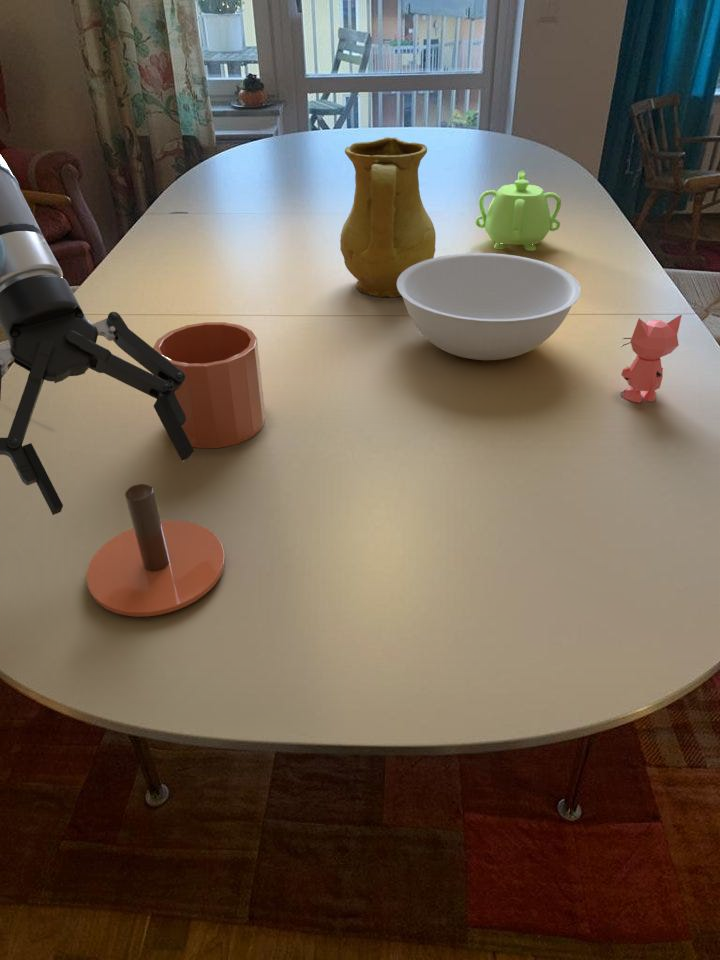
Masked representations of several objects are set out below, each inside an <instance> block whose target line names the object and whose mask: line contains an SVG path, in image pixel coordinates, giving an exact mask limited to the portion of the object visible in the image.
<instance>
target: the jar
mask: <svg viewBox="0 0 720 960" xmlns="http://www.w3.org/2000/svg"><path fill="white" fill-rule="evenodd" d="M152 348H153V349H155V350H156V351H157V352H158V353H160V354H161V355H162V356H163V357H165V358H166V359H167V360H168V361H170V362H171V363H172V364H173V365H175V366H176V367H177V368H178V369H179V370H181V371H182V372H183V373H184V374H185V380H184V381H183V383H182V385H181V386H180V388H179V389H178V390H176V391H175V396H176V398H177V400H178V402H179V404H180V406H181V408H182V410H183V411H184V413H185V415H186V421H185V423H184V424H183V425H182V428H183V430H184V432H185V434H186V436H187V438H188V440H189V442H190V444H191V445H192V447H193V448H199V449H219V448H220V449H221V448H225V447H231V446H235V445H238V444H240V443H243V442H246V441H248V440H249V439H251V438H253V437H254V436H255V435H257V434H258V433H259V432H260V431H261V429H262V428H264V424H265V421H266V417H265V416H266V410H265V400H264V391H263V380H262V372H261V362H260V353H259V344H258V338H257V336H256V335H255V333H254V332H253V330H252V329H249V328H247V327H246V326H244V325H240V324H236V323H231V322H225V321H224V322H223V321H207V322H205V321H204V322H199V323H193V324H187V325H184V326H181V327H177V328H175V329H171V330H169V331H168V332H166V333H165V334H163V335H162V336H161V337H159V338H158V339H157V340H156V342H155V344H154V346H153V347H152Z"/></svg>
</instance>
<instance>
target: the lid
mask: <svg viewBox="0 0 720 960" xmlns="http://www.w3.org/2000/svg"><path fill="white" fill-rule="evenodd" d="M124 497H125V500H126V505H127V508H128V513H129V516H130V520H131V525H132V528H130V529H127V530H125V531H122V532H121V533H119V534H118V535H116V536H113V538H111V539H109V540H108V541H107V542H106V543H105V544H104V545H102V546H101V547H100V548H99V549H98V550H97V551H96V553H95V554H94V556H93V557H92V559H91V560H90V563H89V564H88V567H87V570H86V584H87V588H88V591H89V593H90V596H91V597H92V598H93V600H94V601H95V602H96V603H97V604H98V605H99V606H100V607H102V608H103V609H106V610H107V611H110V612H112V613H114V614H118V615H122V616H127V617H141V618H143V617H153V616H160V615H164V614H169V613H172V612H175V611H178V610H180V609H183V608H185V607H188V606H189V605H191V604H193V603H195V602H197V601H198V600H199V599H201V598H203V596H205V595H206V594H207V593H208V592H210V591H211V590H212V588H214V586H215V585H217V582H218V581H219V579H220V578H221V576H222V574H223V571H224V569H225V564H226V555H225V550H224V549H225V548H224V546H223V544H222V542H221V540H220V539H219V537H218V536H217V535H216V534H215V533H214V532H212V531H211V530H210V529H209V528H206V527H204V526H202V525H199V524H197V523H195V522H189V521H185V520H161V516H160V512H159V508H158V507H159V506H158V504H157V499H156V494H155V490H154V487H153V486H151V485H150V484H148V483H138V484H134V485H132V486H130V487H128V488H127V489H126V491H125V493H124Z"/></svg>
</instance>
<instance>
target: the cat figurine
mask: <svg viewBox="0 0 720 960" xmlns="http://www.w3.org/2000/svg"><path fill="white" fill-rule="evenodd" d="M682 316H683V314H682V313H681V314H679V315H677V316H676V317H675V318H673V319H672V320H670V321H668V322H666V321H663V320H659V319H651V320H648V321H646V322H645V321H643V320H642V319H641V318H639V317H638V319H637V321H636V324H635V328H634V330H633V333H632V336H631V337H623V338H622V340H630V342H627V343H625V344H623V345H622V346H620V348H622V347H623V346H626V345H629V344H630V345H631V348H632V349H631V350H632V351H633V352H634V353H635V354H636V357H635V358H634V360H633V361H632V363H631V364H630V366H628V365H627V366H626V367H625V368H623V369H622V371H621V374H620V376H622V377H623V378H624V380H626V382H627V385H628V386H630V387H628V388H625V389H624V390H622V391H620V397H622V398H623V399H626V400H628V401H630V402H633V403H638V404H640V403H642V402H643V401H642V398H643V399H644V400H646V401H647V402H654V401H656V400H657V392H656V391H657V390H659V389H661V385H662V381H663V373H664V372H663V370H664V368H663V367H662V360H661V358H663V357H665V356H667V355H670V354H672V353H673V352H674V351H675V350H676V348H678V347H679V346H680V345H679V338H678V334H679V329H680V324H681V320H682Z"/></svg>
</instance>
